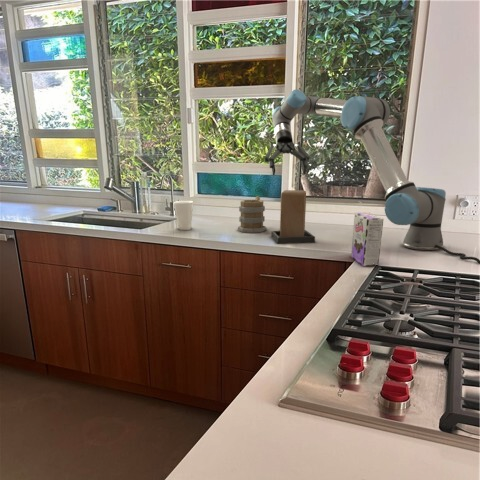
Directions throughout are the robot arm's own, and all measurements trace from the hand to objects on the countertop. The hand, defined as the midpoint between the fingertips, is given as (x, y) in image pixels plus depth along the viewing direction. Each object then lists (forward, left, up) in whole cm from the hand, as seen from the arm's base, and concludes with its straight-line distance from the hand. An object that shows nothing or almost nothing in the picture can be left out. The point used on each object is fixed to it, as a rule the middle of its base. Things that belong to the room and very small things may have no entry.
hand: (289, 172), depth 203 cm
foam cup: (+23, +47, -28) cm, 59 cm away
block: (-11, 0, -27) cm, 29 cm away
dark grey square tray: (-11, 0, -27) cm, 29 cm away
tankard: (+17, +13, -28) cm, 35 cm away
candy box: (-53, -17, -28) cm, 62 cm away
